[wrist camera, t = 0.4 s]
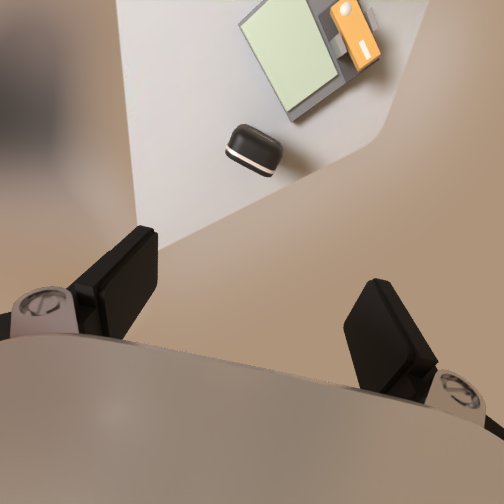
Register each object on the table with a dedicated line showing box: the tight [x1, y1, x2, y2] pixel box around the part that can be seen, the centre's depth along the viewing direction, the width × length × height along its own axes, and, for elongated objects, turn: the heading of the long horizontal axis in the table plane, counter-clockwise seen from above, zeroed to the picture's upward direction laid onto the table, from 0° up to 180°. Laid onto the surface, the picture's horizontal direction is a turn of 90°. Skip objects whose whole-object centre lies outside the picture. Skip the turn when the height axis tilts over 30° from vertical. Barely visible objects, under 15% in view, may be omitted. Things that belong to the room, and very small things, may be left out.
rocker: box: [330, 0, 381, 72], centre depth 28 cm, size 7×2×1 cm, turn 35°
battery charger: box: [225, 124, 283, 177], centre depth 35 cm, size 7×4×11 cm, turn 64°
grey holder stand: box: [238, 0, 379, 122], centre depth 31 cm, size 13×12×6 cm
